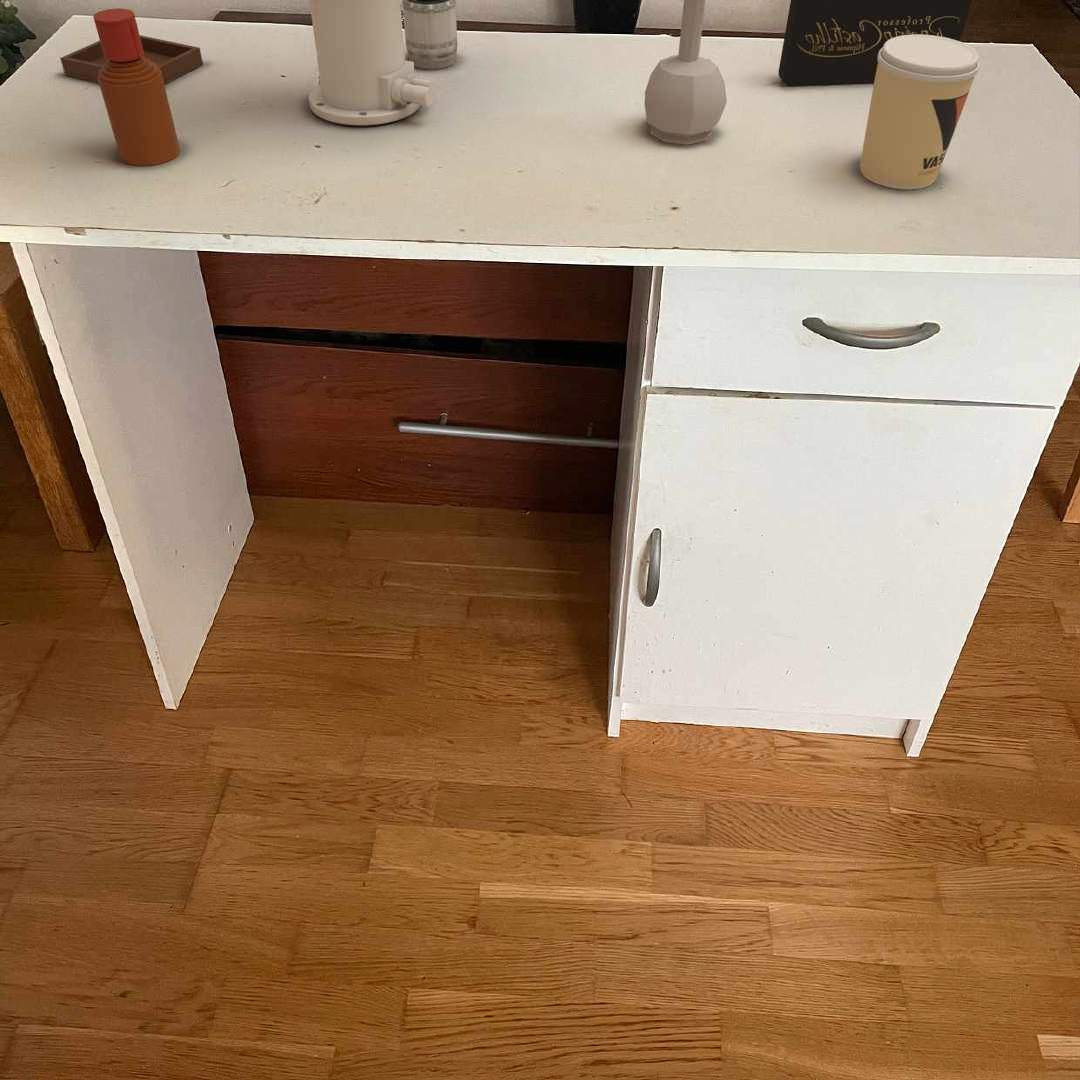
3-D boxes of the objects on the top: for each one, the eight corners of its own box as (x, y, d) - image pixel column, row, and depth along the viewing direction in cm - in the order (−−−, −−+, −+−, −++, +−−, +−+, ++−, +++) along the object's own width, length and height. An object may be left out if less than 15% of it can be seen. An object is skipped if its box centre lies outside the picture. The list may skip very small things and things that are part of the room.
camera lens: (456, 51, 127) (453, -18, 121) (459, 69, 123) (457, -1, 117) (405, 52, 126) (400, -17, 121) (407, 71, 122) (402, 0, 116)
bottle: (192, 147, 106) (161, 14, 97) (153, 170, 102) (117, 34, 93) (147, 136, 108) (112, 5, 99) (107, 158, 104) (67, 23, 95)
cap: (152, 52, 99) (142, 12, 96) (126, 64, 97) (115, 24, 94) (122, 46, 100) (112, 6, 97) (96, 58, 98) (84, 17, 95)
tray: (203, 64, 123) (199, 47, 121) (146, 94, 116) (141, 76, 115) (125, 48, 126) (120, 30, 125) (65, 75, 120) (59, 57, 118)
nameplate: (942, 74, 124) (967, -16, 116) (948, 80, 122) (975, -11, 115) (776, 80, 121) (792, -11, 114) (781, 86, 120) (797, -5, 113)
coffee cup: (929, 202, 100) (967, 76, 91) (838, 178, 103) (866, 54, 95) (955, 167, 105) (993, 45, 97) (868, 145, 109) (898, 26, 100)
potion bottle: (730, 123, 112) (756, -60, 100) (705, 154, 107) (729, -36, 94) (656, 109, 115) (672, -71, 102) (627, 138, 109) (641, -48, 97)
